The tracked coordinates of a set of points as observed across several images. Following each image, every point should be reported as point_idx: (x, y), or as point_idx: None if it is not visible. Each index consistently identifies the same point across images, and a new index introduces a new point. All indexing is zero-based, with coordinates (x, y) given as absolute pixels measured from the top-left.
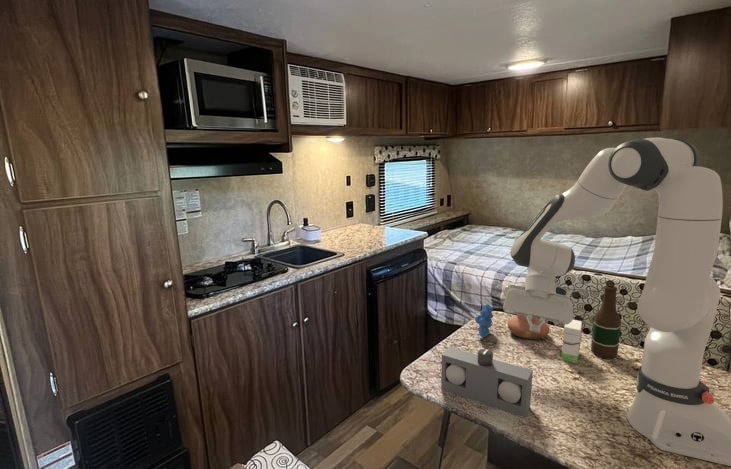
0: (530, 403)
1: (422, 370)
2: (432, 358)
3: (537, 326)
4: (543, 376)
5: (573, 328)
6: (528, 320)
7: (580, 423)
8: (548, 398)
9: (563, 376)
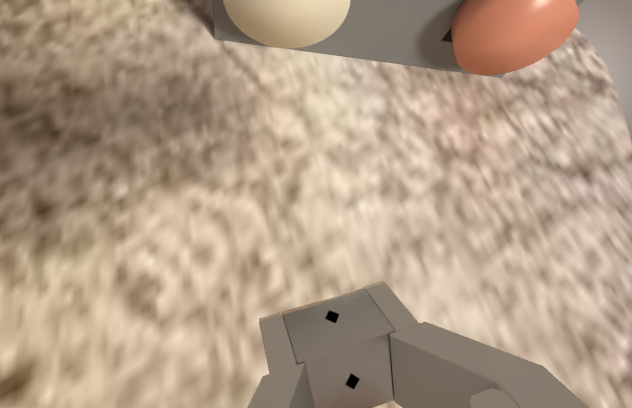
0: (214, 27)
1: (589, 94)
2: (623, 182)
3: (312, 344)
4: (200, 294)
5: None
6: (488, 365)
7: (19, 15)
8: (155, 118)
9: (91, 363)
